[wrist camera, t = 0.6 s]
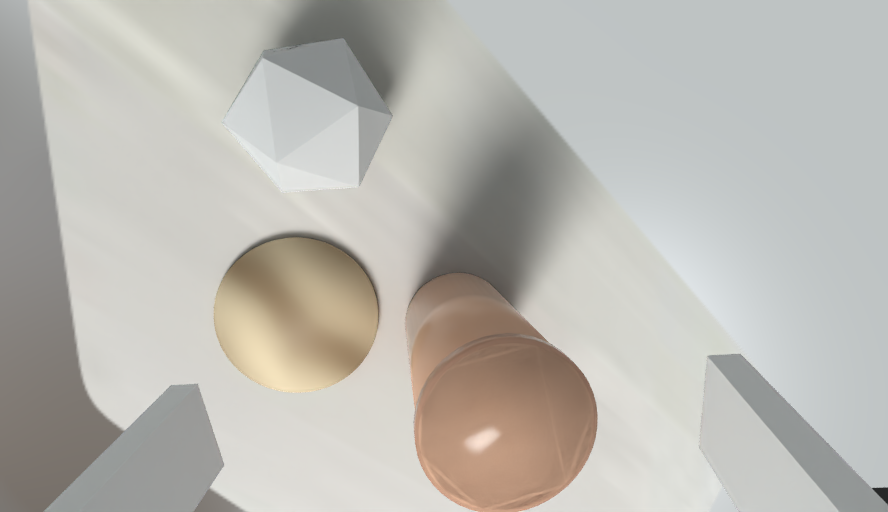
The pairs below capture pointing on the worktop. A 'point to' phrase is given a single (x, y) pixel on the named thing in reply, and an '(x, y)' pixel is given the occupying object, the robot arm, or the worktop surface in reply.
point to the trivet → (296, 315)
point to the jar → (493, 399)
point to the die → (309, 117)
